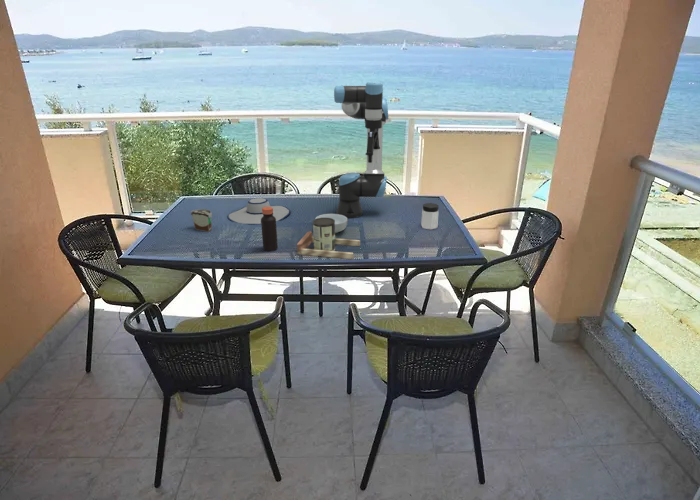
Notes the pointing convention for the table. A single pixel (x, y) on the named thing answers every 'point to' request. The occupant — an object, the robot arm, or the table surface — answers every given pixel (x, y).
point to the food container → (202, 219)
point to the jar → (430, 216)
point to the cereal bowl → (336, 221)
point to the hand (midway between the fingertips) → (372, 166)
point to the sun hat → (257, 212)
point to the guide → (309, 238)
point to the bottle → (269, 229)
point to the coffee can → (324, 234)
